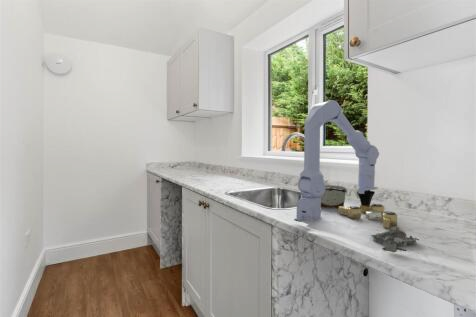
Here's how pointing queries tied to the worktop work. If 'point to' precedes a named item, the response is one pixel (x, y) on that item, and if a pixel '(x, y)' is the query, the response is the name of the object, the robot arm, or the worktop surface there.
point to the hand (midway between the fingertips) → (365, 209)
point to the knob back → (372, 208)
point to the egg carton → (390, 241)
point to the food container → (333, 196)
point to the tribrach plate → (373, 215)
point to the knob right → (389, 219)
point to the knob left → (350, 212)
